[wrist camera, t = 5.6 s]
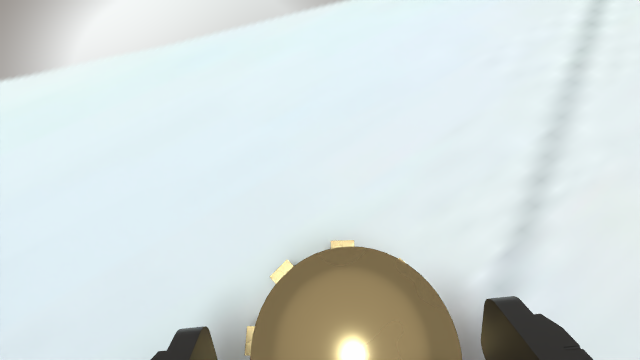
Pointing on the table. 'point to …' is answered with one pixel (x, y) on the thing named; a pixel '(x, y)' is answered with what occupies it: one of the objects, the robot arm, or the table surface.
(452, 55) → the table surface
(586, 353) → the robot arm
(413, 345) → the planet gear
